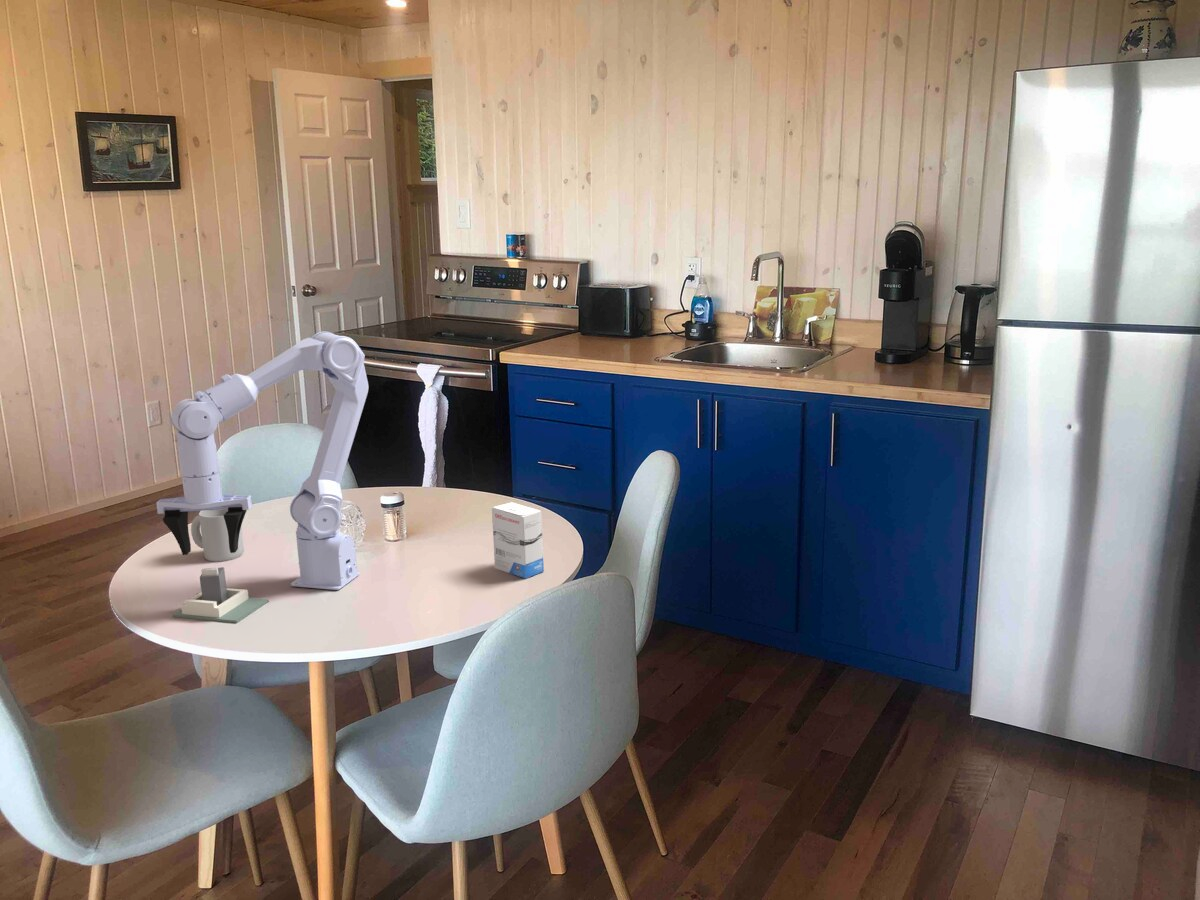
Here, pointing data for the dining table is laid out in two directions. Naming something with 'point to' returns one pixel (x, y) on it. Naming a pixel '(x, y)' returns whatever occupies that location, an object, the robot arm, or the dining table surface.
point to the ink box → (518, 539)
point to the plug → (213, 585)
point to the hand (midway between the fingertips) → (210, 552)
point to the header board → (221, 607)
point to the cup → (214, 536)
